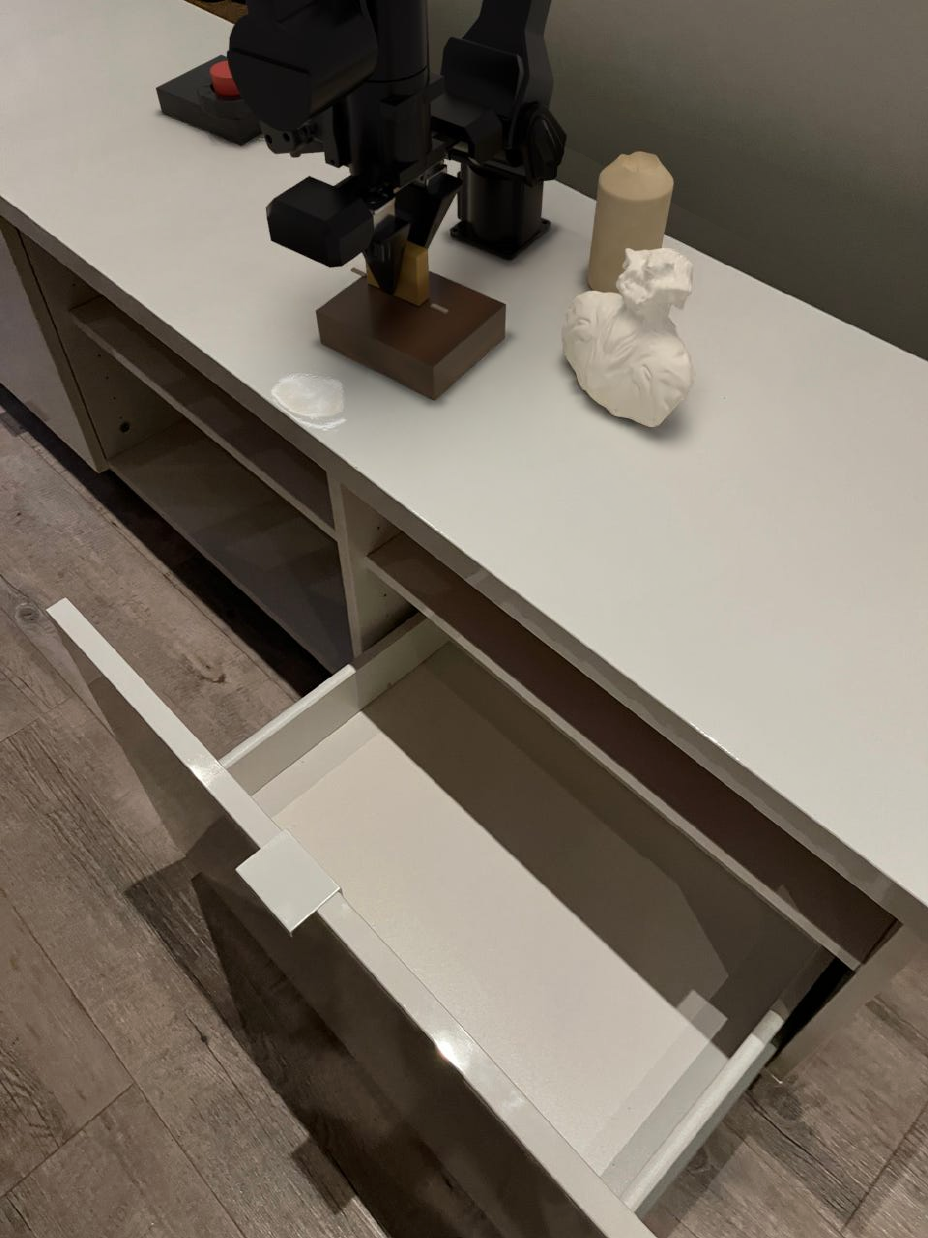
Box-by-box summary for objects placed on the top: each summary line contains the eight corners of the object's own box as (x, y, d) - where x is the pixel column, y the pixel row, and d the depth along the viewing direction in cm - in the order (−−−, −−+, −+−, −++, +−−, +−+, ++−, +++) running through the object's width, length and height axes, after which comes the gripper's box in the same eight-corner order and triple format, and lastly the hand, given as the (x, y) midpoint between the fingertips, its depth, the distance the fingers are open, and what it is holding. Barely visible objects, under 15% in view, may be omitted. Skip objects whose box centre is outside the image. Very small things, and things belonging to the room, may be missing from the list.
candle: (632, 310, 73) (653, 188, 65) (573, 285, 75) (587, 163, 67) (667, 277, 76) (691, 156, 67) (609, 254, 77) (626, 133, 69)
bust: (677, 455, 66) (779, 316, 62) (623, 441, 61) (730, 286, 56) (572, 367, 72) (657, 233, 67) (514, 346, 66) (602, 198, 62)
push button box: (310, 111, 92) (304, 68, 89) (241, 151, 88) (232, 107, 84) (226, 78, 96) (217, 36, 93) (156, 115, 92) (144, 72, 88)
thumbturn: (430, 297, 69) (428, 245, 66) (418, 306, 68) (416, 254, 65) (378, 274, 71) (374, 222, 67) (367, 283, 70) (361, 231, 67)
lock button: (260, 86, 87) (256, 66, 86) (233, 101, 86) (229, 81, 84) (233, 75, 89) (229, 56, 87) (205, 90, 87) (201, 70, 86)
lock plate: (505, 337, 71) (506, 301, 68) (434, 400, 67) (433, 365, 64) (383, 282, 75) (380, 246, 73) (309, 338, 71) (303, 303, 68)
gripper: (377, -21, 64) (392, 196, 76) (179, 82, 55) (232, 307, 68) (510, 20, 60) (502, 241, 72) (319, 137, 51) (348, 365, 64)
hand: (398, 284), depth 69 cm, fingers closed
